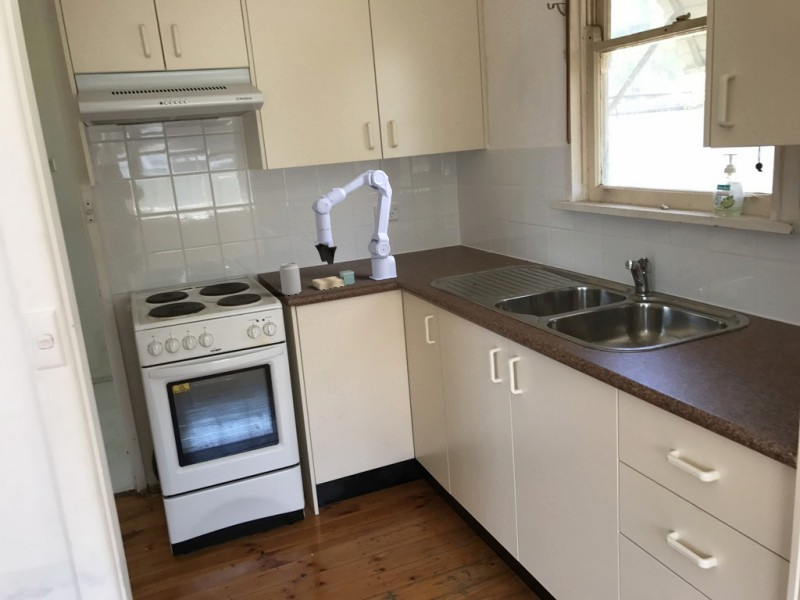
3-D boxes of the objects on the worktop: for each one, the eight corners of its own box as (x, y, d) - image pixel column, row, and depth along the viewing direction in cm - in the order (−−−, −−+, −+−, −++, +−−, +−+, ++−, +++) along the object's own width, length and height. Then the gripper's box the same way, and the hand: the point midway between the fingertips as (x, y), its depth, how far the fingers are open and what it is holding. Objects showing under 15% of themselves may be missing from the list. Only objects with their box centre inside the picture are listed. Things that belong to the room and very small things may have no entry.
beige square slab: (336, 283, 273) (335, 276, 273) (344, 287, 265) (343, 280, 264) (312, 287, 270) (312, 279, 269) (320, 291, 261) (319, 283, 260)
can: (283, 296, 254) (279, 266, 251) (281, 293, 261) (277, 263, 258) (302, 294, 256) (299, 263, 253) (300, 290, 263) (296, 260, 260)
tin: (351, 281, 272) (349, 270, 271) (354, 283, 268) (353, 271, 267) (340, 283, 270) (339, 271, 269) (344, 285, 266) (343, 273, 265)
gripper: (308, 228, 266) (312, 262, 269) (319, 232, 253) (323, 266, 256) (325, 226, 268) (328, 259, 272) (337, 229, 255) (340, 264, 259)
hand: (327, 262), depth 264 cm, fingers open, 7 cm apart
